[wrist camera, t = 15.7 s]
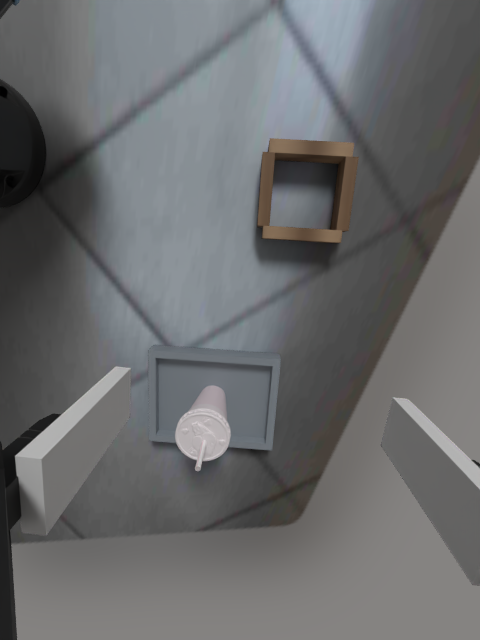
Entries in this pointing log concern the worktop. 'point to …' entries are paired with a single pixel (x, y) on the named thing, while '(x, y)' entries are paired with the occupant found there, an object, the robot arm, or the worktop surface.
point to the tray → (219, 370)
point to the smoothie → (204, 427)
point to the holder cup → (309, 153)
